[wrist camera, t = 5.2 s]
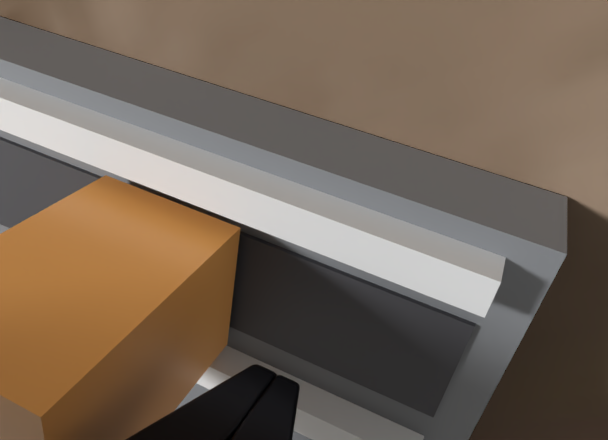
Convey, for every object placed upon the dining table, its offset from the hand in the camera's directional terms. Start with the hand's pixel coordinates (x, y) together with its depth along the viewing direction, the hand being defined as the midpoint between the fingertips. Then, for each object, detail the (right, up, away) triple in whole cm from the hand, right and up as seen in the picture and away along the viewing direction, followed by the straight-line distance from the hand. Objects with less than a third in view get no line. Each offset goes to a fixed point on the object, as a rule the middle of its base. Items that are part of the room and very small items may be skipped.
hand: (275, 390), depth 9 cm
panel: (-2, 0, +6) cm, 7 cm away
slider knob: (-2, +2, +2) cm, 4 cm away
